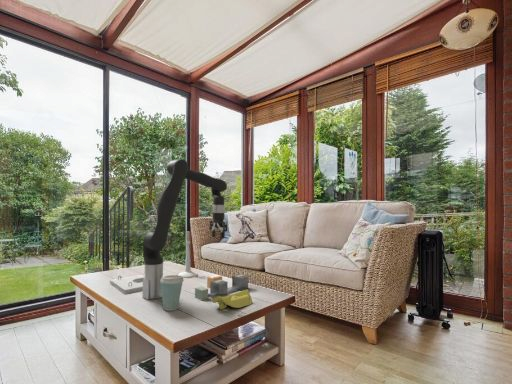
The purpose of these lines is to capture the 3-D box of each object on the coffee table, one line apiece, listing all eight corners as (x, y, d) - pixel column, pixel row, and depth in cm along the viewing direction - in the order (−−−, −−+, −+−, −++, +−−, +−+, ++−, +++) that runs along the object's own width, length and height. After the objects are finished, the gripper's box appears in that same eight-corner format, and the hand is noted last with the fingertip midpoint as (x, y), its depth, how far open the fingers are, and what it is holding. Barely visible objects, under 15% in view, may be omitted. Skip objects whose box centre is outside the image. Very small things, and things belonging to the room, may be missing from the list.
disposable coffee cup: (158, 306, 140) (158, 274, 141) (181, 303, 144) (181, 272, 145) (160, 314, 130) (161, 279, 131) (185, 310, 135) (185, 277, 135)
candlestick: (186, 278, 190) (186, 232, 191) (173, 275, 197) (174, 230, 198) (201, 275, 200) (201, 230, 201) (188, 272, 208) (189, 229, 209)
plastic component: (235, 293, 153) (249, 288, 147) (239, 308, 150) (253, 303, 145) (206, 300, 137) (220, 294, 132) (210, 317, 135) (225, 311, 129)
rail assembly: (214, 299, 151) (214, 284, 151) (205, 296, 155) (205, 282, 156) (249, 288, 170) (249, 275, 170) (240, 285, 175) (240, 273, 175)
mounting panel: (176, 276, 178) (124, 285, 159) (176, 284, 178) (124, 295, 158) (158, 268, 199) (110, 275, 179) (157, 276, 198) (109, 284, 179)
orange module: (212, 289, 168) (212, 278, 168) (207, 287, 171) (207, 276, 171) (222, 286, 173) (222, 275, 173) (216, 285, 176) (216, 274, 177)
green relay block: (201, 300, 149) (201, 290, 149) (194, 297, 153) (195, 288, 153) (208, 298, 152) (208, 288, 152) (201, 296, 156) (201, 286, 156)
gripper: (206, 211, 189) (206, 237, 188) (221, 212, 180) (221, 239, 179) (215, 211, 195) (215, 236, 194) (230, 212, 185) (230, 238, 185)
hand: (218, 237), depth 186 cm, fingers open, 8 cm apart
